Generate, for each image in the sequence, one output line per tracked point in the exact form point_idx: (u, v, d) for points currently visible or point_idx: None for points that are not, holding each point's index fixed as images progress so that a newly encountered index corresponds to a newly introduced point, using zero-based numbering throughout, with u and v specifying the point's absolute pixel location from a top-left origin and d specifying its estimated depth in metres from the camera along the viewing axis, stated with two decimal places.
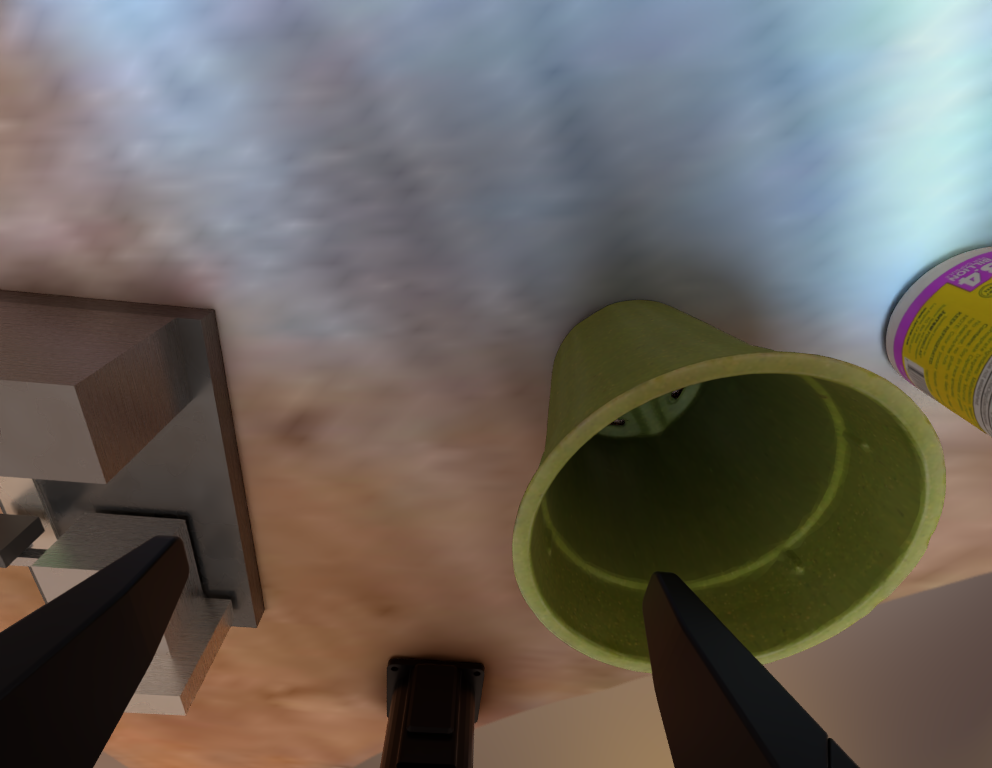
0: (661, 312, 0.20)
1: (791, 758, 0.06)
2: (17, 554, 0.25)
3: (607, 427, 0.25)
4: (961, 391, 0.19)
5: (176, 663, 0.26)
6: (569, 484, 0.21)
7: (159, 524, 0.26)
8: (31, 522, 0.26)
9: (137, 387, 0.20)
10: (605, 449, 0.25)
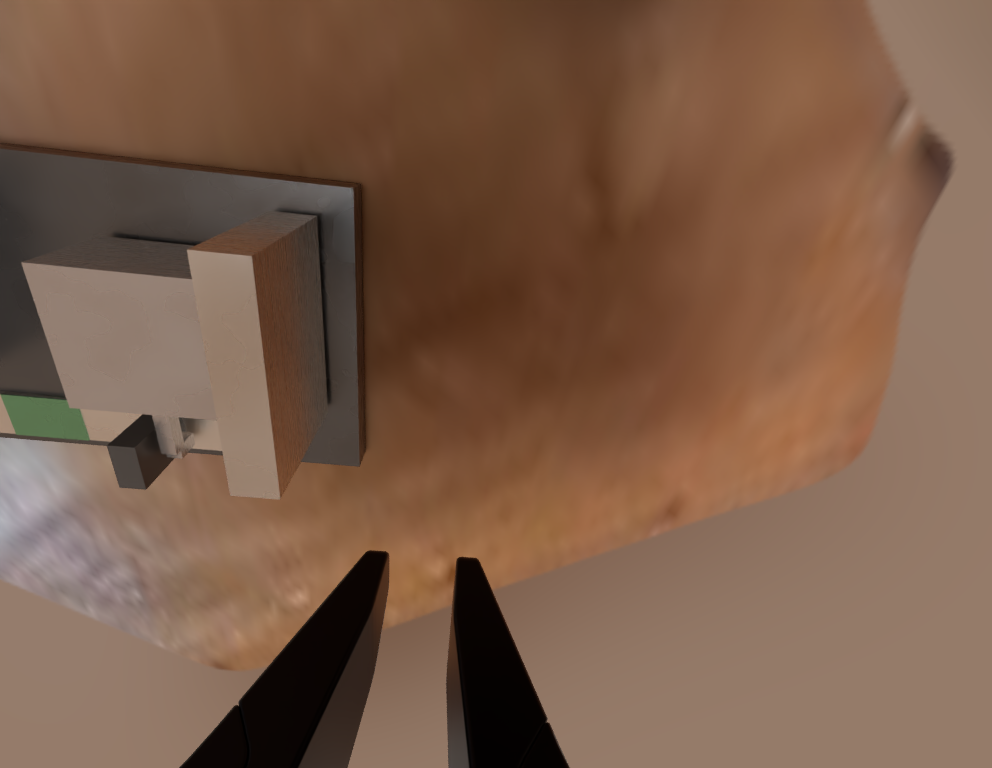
0: None
1: (490, 742, 0.06)
2: (142, 436, 0.20)
3: None
4: None
5: None
6: None
7: None
8: (140, 418, 0.21)
9: None
10: None
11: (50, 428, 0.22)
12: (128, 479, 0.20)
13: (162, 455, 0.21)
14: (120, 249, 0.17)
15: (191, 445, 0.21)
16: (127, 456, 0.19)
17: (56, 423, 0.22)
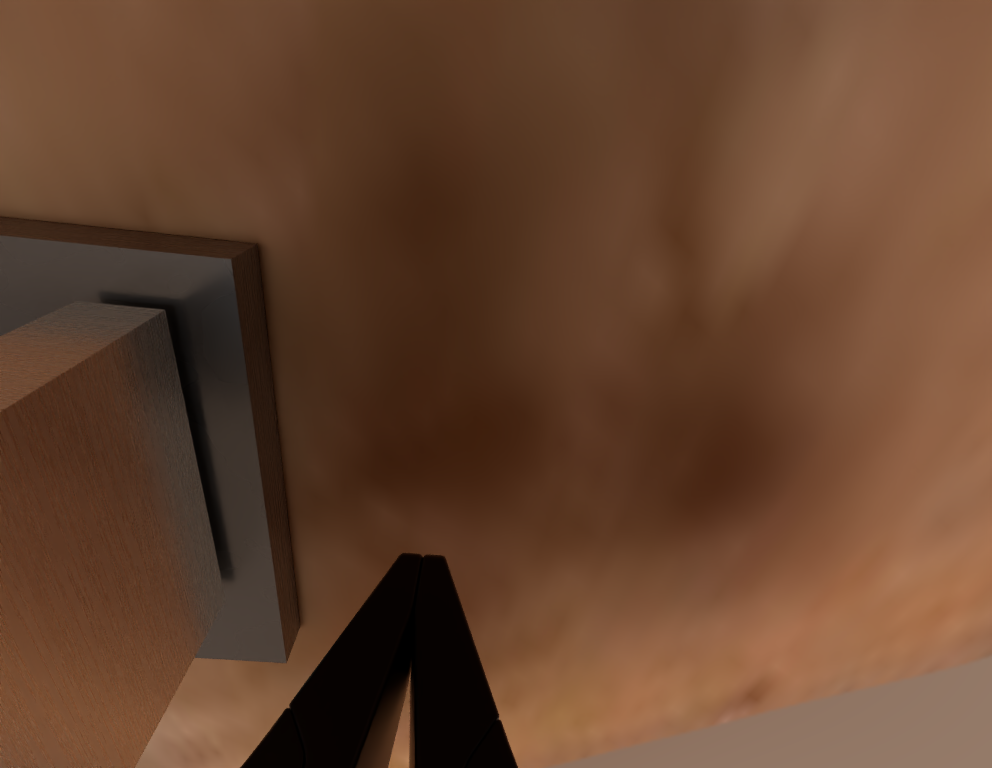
0: None
1: (438, 739, 0.06)
2: None
3: None
4: None
5: None
6: None
7: None
8: None
9: None
10: None
11: None
12: None
13: None
14: None
15: None
16: None
17: None
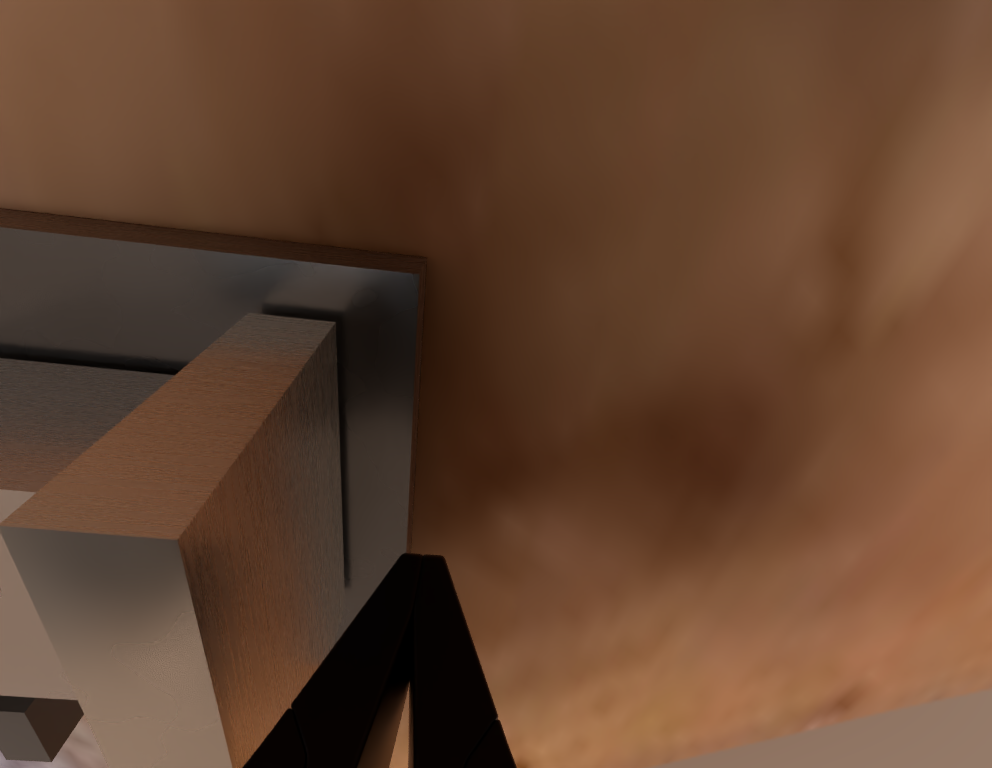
0: None
1: (437, 739, 0.06)
2: None
3: None
4: None
5: None
6: None
7: None
8: None
9: None
10: None
11: None
12: (19, 750, 0.12)
13: None
14: None
15: None
16: (13, 723, 0.11)
17: None
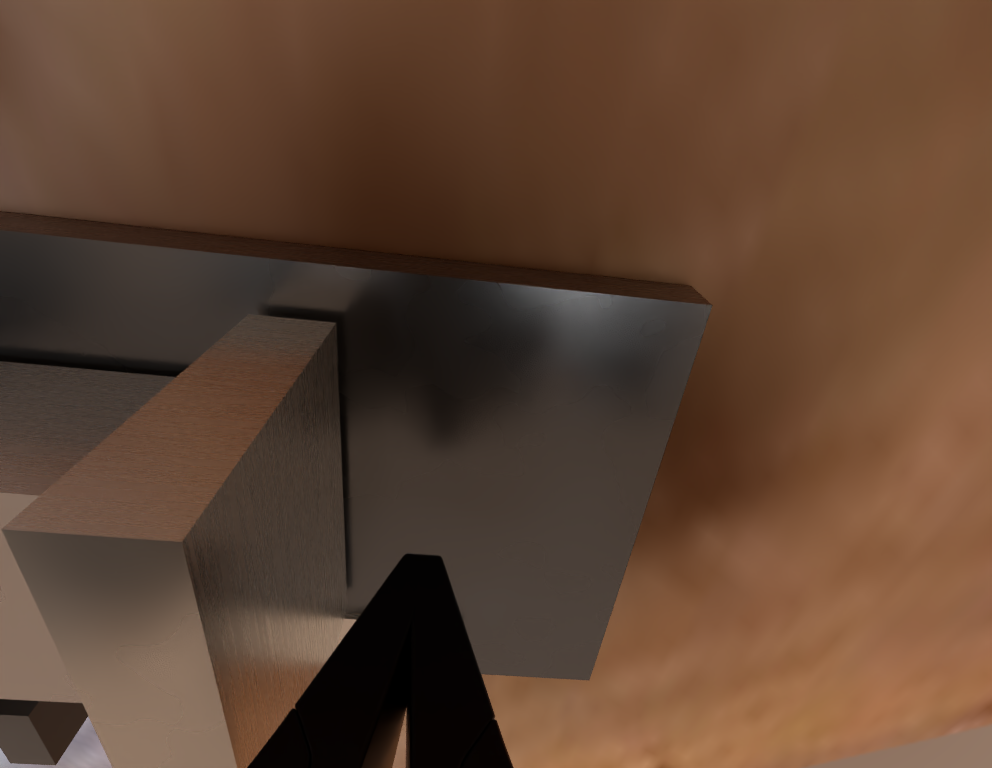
0: None
1: (433, 739, 0.06)
2: None
3: None
4: None
5: None
6: None
7: None
8: None
9: None
10: None
11: None
12: (24, 753, 0.12)
13: None
14: None
15: None
16: (17, 726, 0.11)
17: None
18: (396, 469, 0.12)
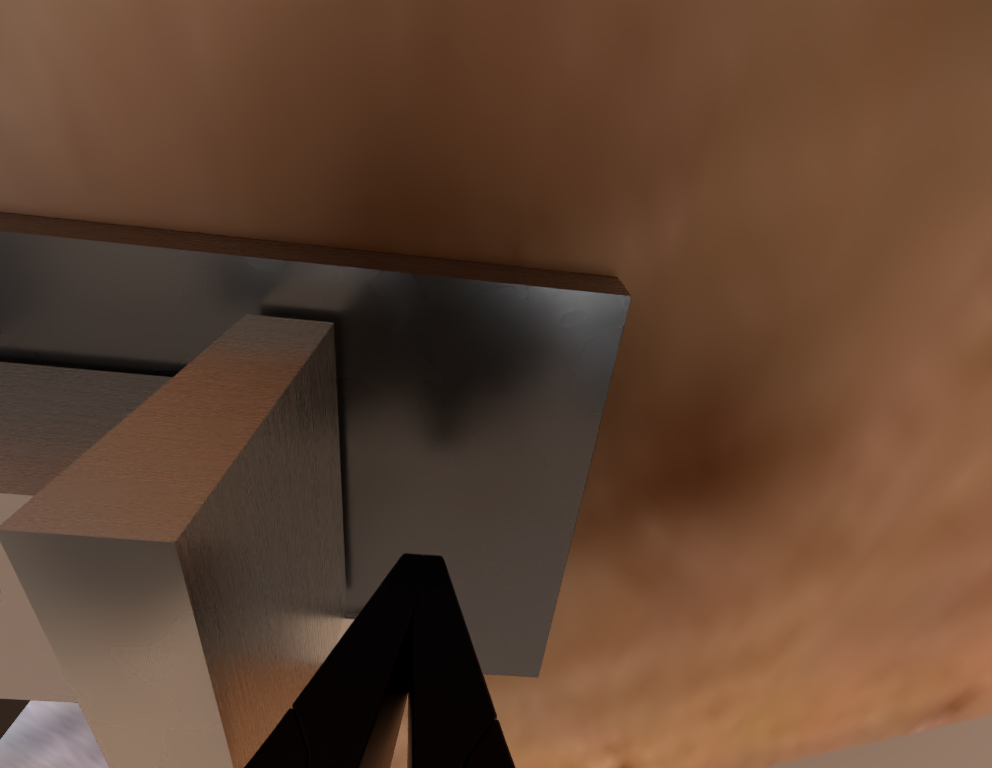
0: None
1: (435, 739, 0.06)
2: None
3: None
4: None
5: None
6: None
7: None
8: None
9: None
10: None
11: None
12: None
13: None
14: None
15: None
16: None
17: None
18: None
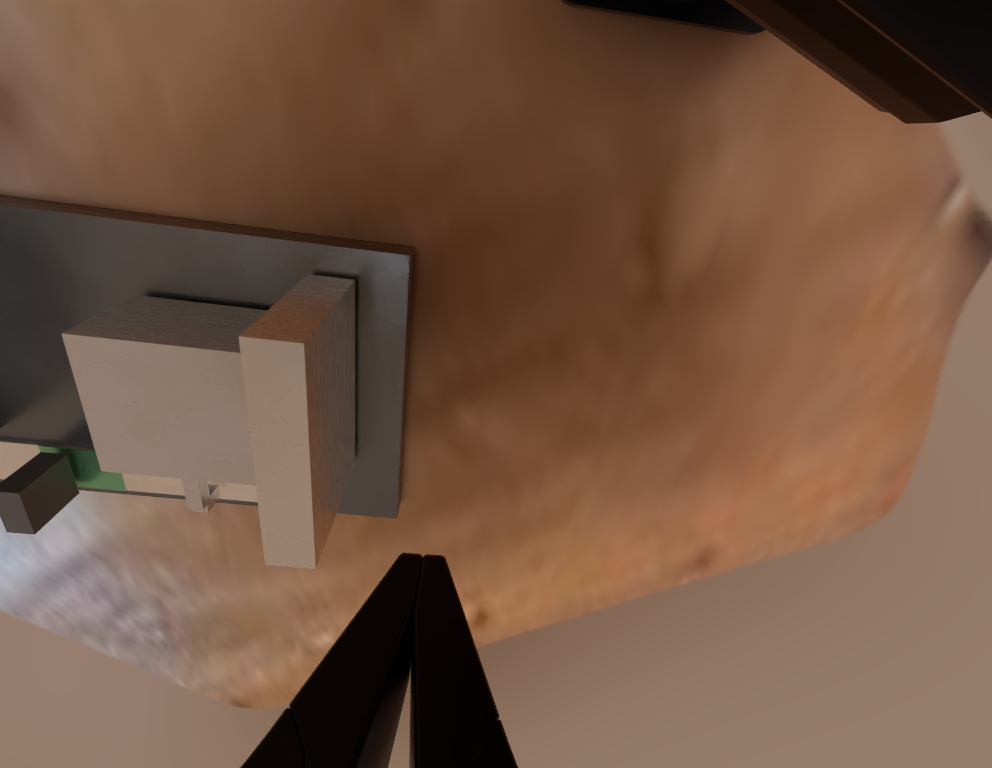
0: None
1: (438, 739, 0.06)
2: (30, 481, 0.19)
3: None
4: None
5: None
6: None
7: None
8: (34, 459, 0.20)
9: None
10: None
11: (86, 479, 0.22)
12: (15, 524, 0.19)
13: (56, 497, 0.20)
14: (157, 313, 0.17)
15: (216, 498, 0.21)
16: (12, 501, 0.19)
17: (93, 474, 0.22)
18: None
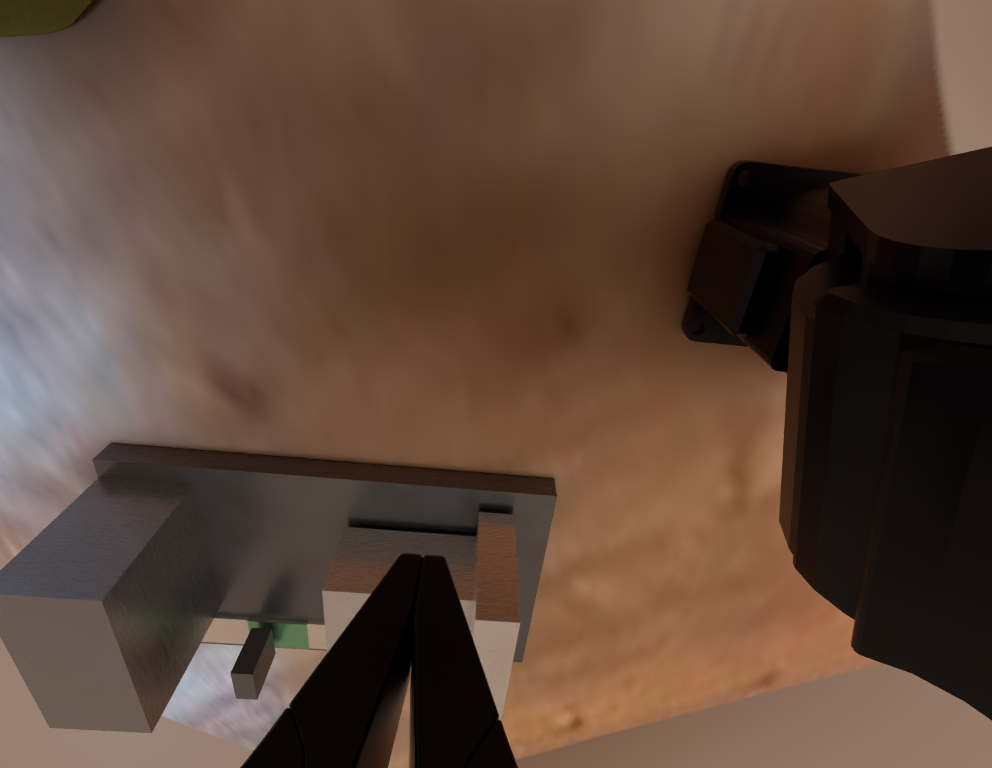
0: None
1: (438, 739, 0.06)
2: (255, 660, 0.25)
3: None
4: None
5: (474, 601, 0.20)
6: None
7: None
8: (249, 635, 0.26)
9: (83, 535, 0.20)
10: None
11: (280, 641, 0.27)
12: (244, 693, 0.25)
13: (266, 664, 0.26)
14: (371, 551, 0.22)
15: None
16: (245, 679, 0.24)
17: (286, 638, 0.27)
18: None
